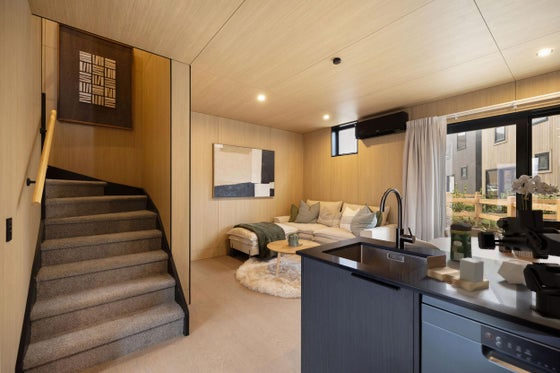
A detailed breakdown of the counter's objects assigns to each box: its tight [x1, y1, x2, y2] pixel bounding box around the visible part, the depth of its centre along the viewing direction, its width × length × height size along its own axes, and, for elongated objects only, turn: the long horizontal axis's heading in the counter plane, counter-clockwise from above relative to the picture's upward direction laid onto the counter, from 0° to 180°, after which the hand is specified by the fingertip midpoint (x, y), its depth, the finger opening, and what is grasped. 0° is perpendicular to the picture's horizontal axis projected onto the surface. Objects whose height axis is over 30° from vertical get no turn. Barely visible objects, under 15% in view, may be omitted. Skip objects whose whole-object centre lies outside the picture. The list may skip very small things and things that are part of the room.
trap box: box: [426, 254, 490, 292], centre depth 97 cm, size 17×10×8 cm, turn 21°
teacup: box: [506, 258, 532, 268], centre depth 104 cm, size 10×8×5 cm
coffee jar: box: [449, 221, 473, 263], centre depth 125 cm, size 10×8×19 cm
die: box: [496, 260, 526, 285], centre depth 96 cm, size 8×9×10 cm
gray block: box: [459, 257, 485, 283], centre depth 92 cm, size 5×5×7 cm
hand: (494, 240), depth 96 cm, fingers open, 9 cm apart
